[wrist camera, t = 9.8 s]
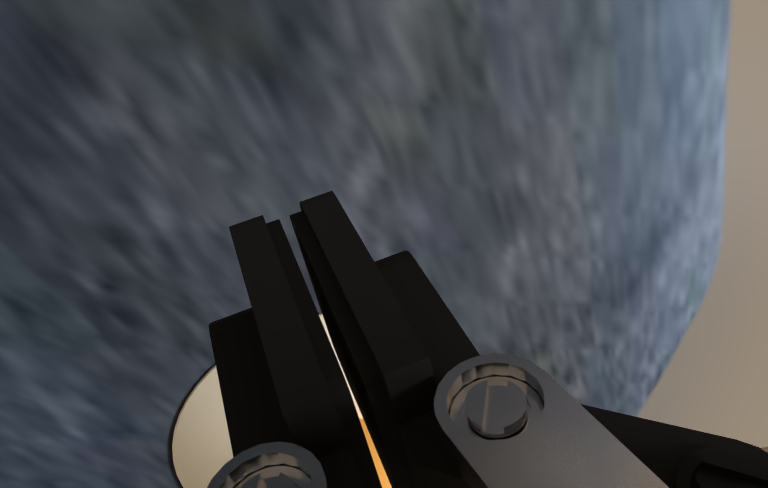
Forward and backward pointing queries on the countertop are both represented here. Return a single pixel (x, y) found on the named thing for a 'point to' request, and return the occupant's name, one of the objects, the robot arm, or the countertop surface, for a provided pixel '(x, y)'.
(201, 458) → the disc
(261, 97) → the countertop surface
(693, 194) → the countertop surface
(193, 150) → the countertop surface
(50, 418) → the countertop surface
